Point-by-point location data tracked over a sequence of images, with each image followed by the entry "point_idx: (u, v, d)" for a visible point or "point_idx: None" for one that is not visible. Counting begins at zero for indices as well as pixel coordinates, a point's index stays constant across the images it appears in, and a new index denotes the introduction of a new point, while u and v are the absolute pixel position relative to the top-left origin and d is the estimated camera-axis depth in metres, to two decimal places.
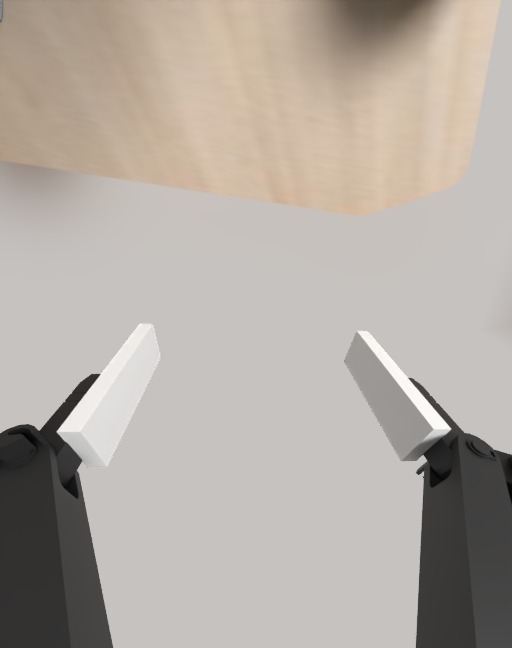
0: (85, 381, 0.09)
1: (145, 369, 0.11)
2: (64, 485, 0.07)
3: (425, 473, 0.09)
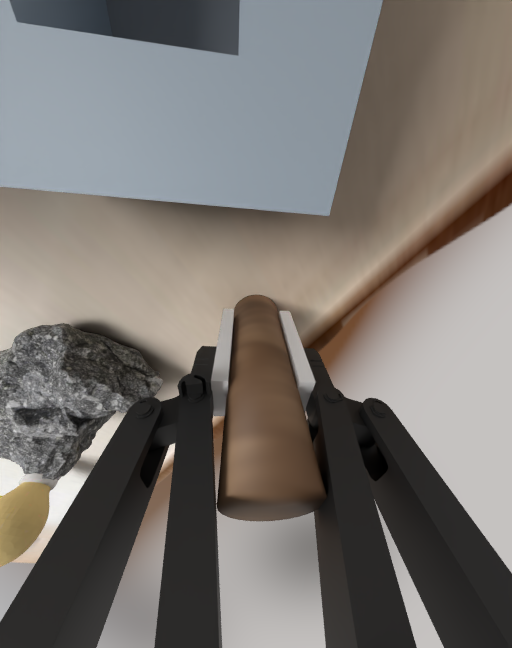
0: (200, 351, 0.12)
1: None
2: (210, 423, 0.09)
3: None
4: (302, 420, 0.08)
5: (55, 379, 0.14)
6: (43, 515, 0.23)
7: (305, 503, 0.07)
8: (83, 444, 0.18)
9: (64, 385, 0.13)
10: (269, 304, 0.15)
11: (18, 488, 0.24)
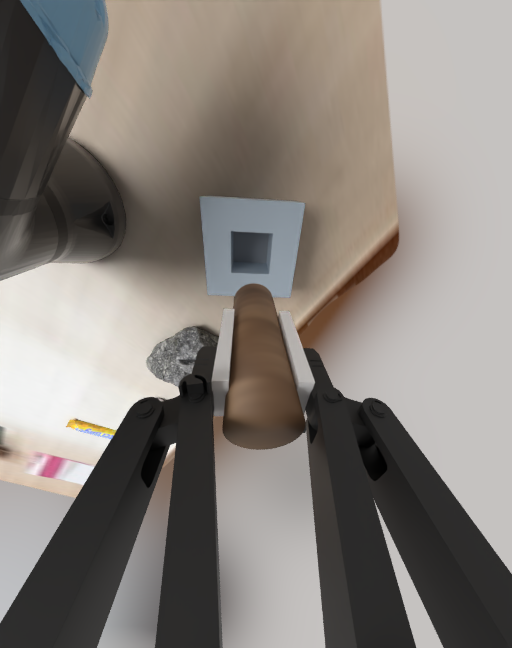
0: (201, 351, 0.12)
1: None
2: None
3: (307, 431, 0.10)
4: (288, 371, 0.10)
5: (195, 347, 0.37)
6: None
7: (289, 428, 0.09)
8: None
9: (200, 348, 0.36)
10: (265, 291, 0.17)
11: None
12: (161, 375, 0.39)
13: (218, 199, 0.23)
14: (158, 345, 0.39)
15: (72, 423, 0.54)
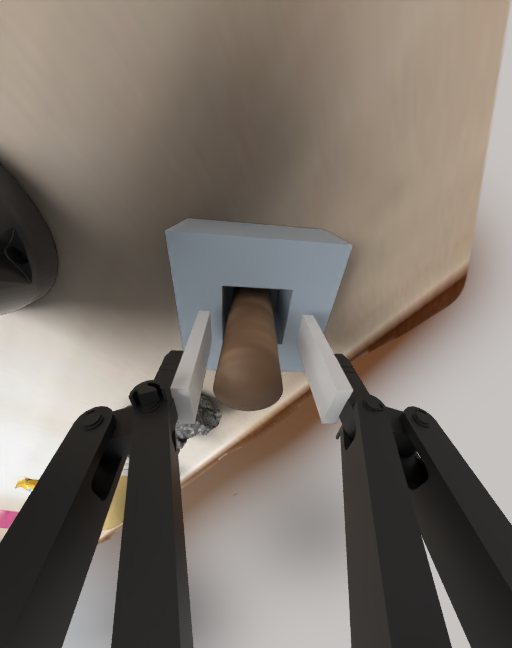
0: (168, 355, 0.11)
1: (207, 349, 0.13)
2: (171, 433, 0.09)
3: (341, 437, 0.10)
4: (272, 346, 0.12)
5: None
6: None
7: (269, 391, 0.11)
8: None
9: None
10: None
11: None
12: None
13: (200, 236, 0.13)
14: None
15: (22, 484, 0.43)
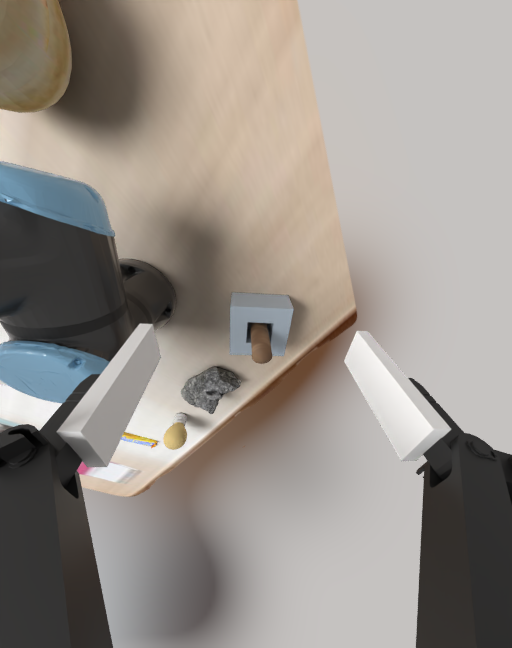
0: (85, 381, 0.09)
1: (145, 369, 0.11)
2: (64, 485, 0.07)
3: (425, 473, 0.09)
4: (268, 343, 0.37)
5: (216, 382, 0.52)
6: (186, 433, 0.61)
7: (268, 356, 0.36)
8: (217, 403, 0.56)
9: (220, 384, 0.51)
10: None
11: (175, 424, 0.62)
12: (193, 402, 0.54)
13: (241, 307, 0.38)
14: (189, 381, 0.54)
15: None
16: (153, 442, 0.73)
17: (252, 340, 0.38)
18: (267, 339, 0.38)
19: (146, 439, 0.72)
